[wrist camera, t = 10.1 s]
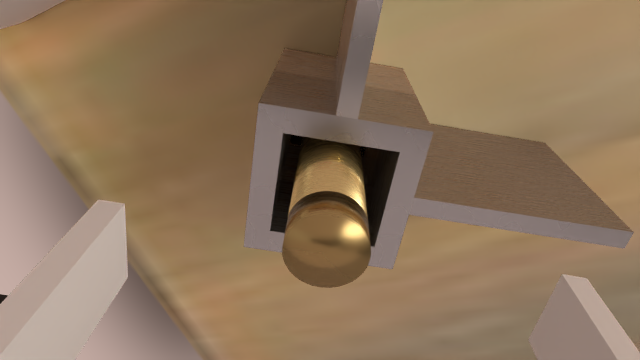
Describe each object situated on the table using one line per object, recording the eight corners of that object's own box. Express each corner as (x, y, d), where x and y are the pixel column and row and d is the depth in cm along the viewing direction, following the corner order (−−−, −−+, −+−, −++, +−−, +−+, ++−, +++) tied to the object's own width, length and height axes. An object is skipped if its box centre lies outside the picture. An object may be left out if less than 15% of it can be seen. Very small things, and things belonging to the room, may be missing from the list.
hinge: (645, -94, 21) (832, -110, 13) (522, 196, 28) (594, 299, 20) (309, -158, 20) (291, -217, 12) (271, 156, 28) (243, 246, 20)
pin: (361, 95, 26) (379, 222, 14) (351, 141, 27) (361, 293, 15) (310, 86, 25) (288, 207, 14) (303, 133, 27) (277, 280, 15)
